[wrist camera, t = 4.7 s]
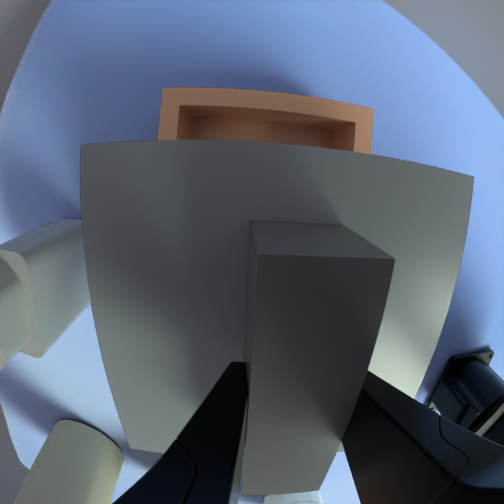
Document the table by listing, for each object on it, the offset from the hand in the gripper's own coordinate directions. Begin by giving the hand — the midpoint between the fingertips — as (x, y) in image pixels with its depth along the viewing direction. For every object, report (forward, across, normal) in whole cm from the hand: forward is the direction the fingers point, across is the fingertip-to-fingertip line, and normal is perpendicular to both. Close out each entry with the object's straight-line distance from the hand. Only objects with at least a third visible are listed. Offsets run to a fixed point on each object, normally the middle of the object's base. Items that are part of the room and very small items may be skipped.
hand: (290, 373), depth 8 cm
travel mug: (+11, +16, +21) cm, 28 cm away
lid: (+2, 0, 0) cm, 2 cm away
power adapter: (+11, +12, +1) cm, 16 cm away
